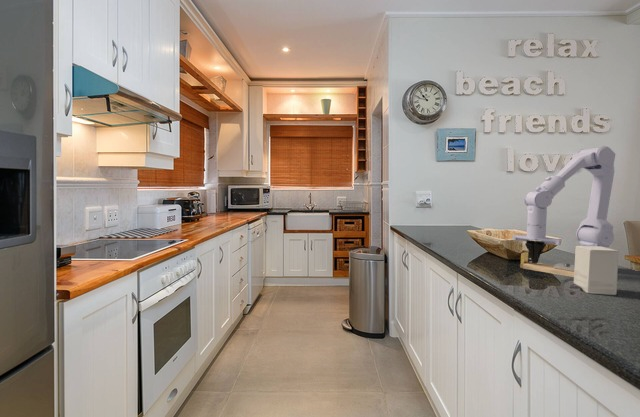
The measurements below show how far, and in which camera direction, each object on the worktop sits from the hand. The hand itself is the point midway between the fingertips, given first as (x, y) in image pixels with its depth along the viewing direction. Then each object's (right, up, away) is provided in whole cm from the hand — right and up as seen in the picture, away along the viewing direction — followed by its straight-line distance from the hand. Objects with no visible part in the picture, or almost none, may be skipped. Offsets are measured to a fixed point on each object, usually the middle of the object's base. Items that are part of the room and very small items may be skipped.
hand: (534, 262), depth 117 cm
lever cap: (+6, -1, -7) cm, 10 cm away
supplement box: (+3, -5, -22) cm, 23 cm away
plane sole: (+4, -3, -4) cm, 6 cm away
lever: (-2, -2, +3) cm, 4 cm away
